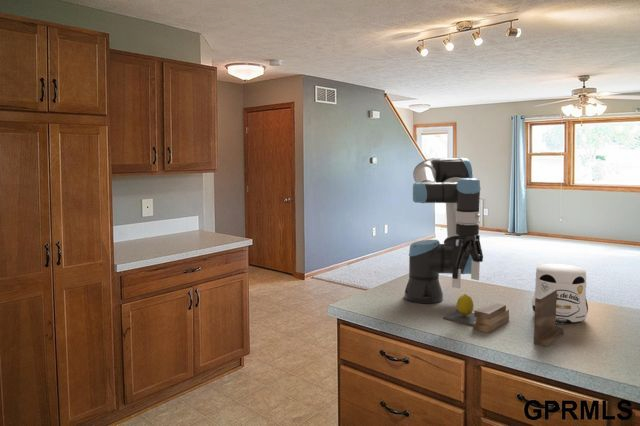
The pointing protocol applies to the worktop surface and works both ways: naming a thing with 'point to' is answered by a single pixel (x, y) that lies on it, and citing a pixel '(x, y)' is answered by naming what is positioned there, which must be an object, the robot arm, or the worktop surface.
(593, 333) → the worktop surface
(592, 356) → the worktop surface
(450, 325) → the worktop surface
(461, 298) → the lemon
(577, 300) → the milk container
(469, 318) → the rubber mat
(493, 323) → the wooden blocks
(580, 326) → the worktop surface
